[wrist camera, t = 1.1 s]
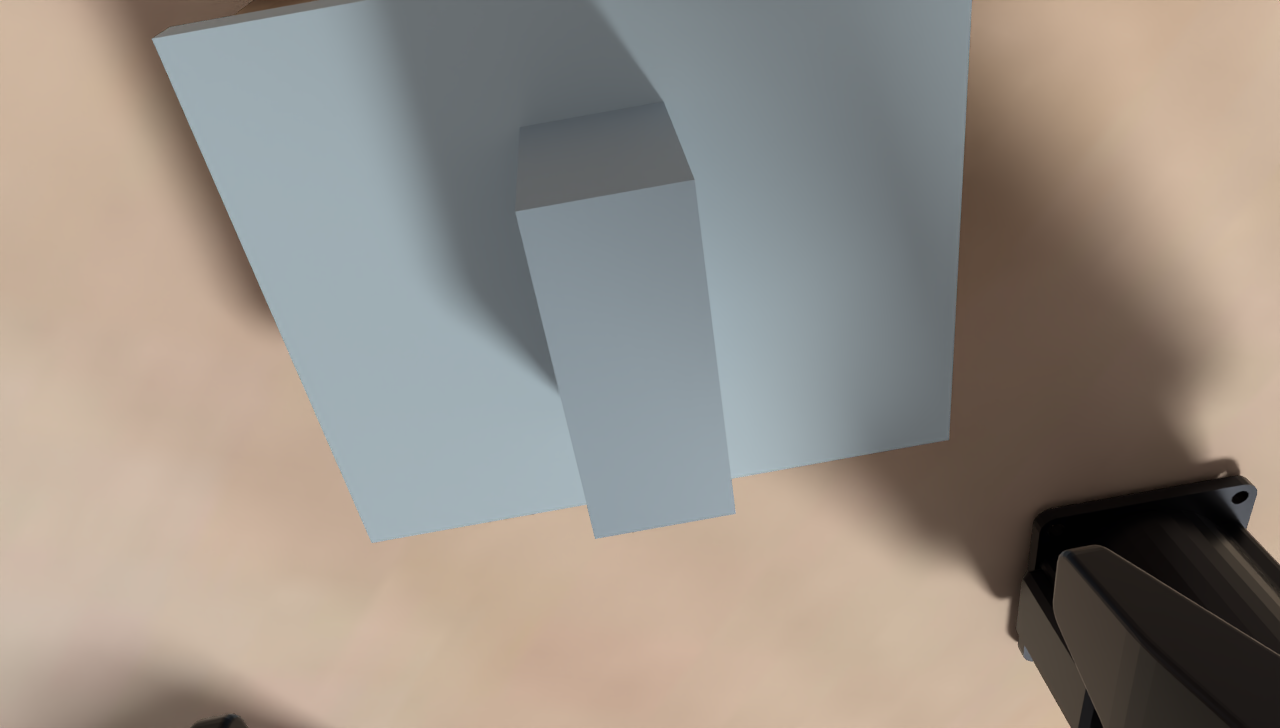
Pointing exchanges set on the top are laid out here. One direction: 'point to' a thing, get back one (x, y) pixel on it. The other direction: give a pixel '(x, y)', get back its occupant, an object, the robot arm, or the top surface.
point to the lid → (593, 238)
